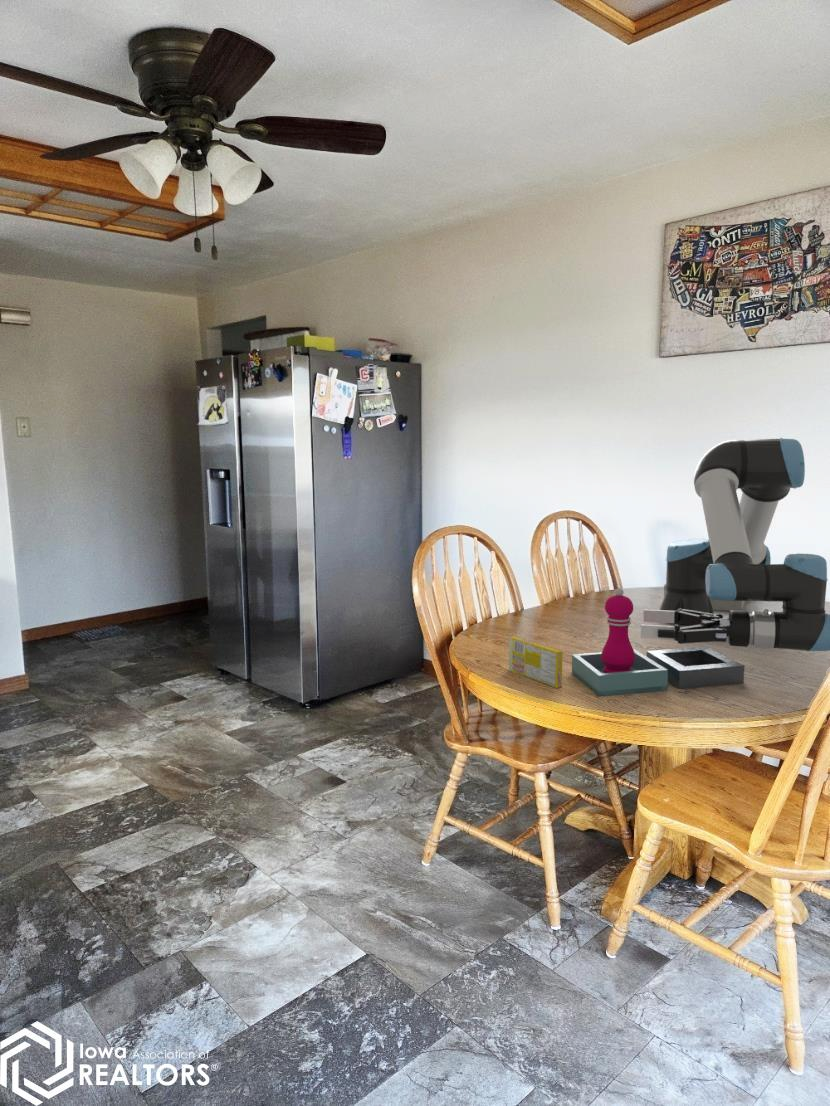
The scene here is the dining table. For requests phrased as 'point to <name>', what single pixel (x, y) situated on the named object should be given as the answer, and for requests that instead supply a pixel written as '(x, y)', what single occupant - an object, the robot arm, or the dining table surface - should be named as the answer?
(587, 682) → the tray
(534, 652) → the candy box
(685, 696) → the dining table surface
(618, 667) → the pepper mill
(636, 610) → the dining table surface
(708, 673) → the bore block
